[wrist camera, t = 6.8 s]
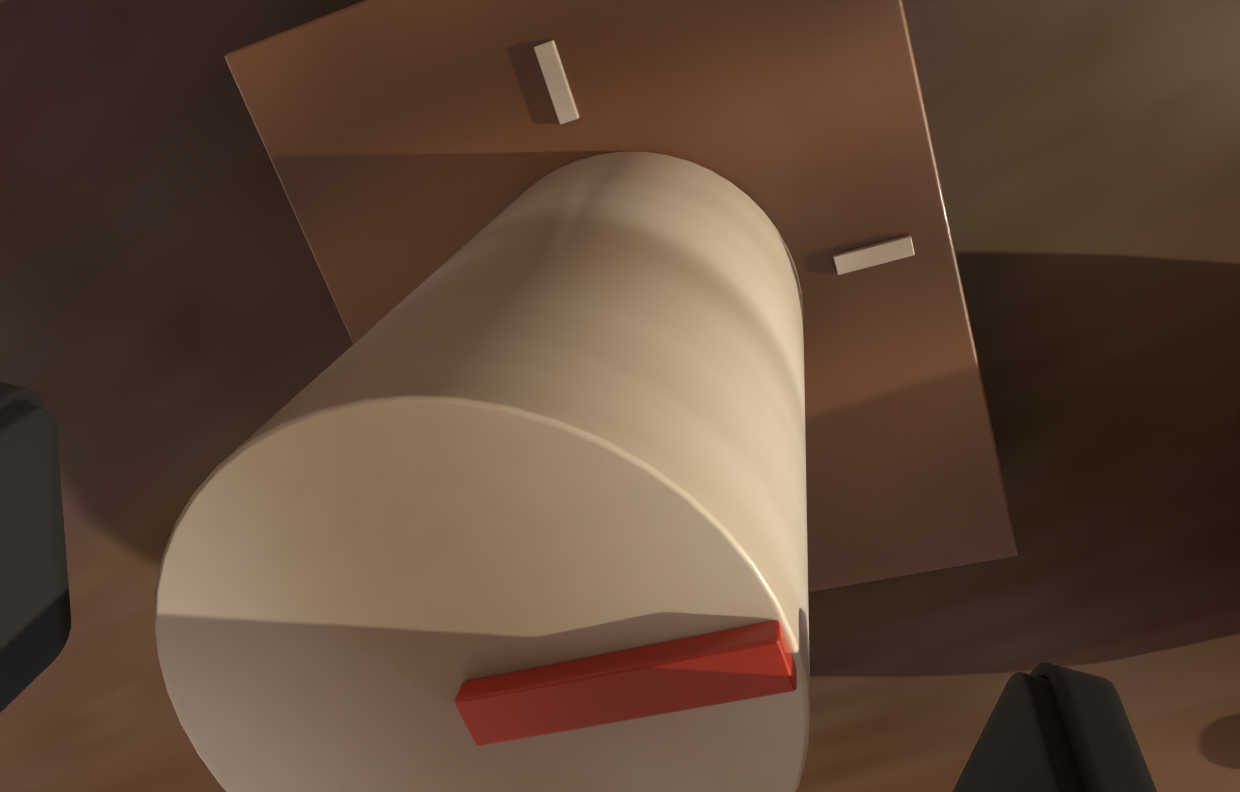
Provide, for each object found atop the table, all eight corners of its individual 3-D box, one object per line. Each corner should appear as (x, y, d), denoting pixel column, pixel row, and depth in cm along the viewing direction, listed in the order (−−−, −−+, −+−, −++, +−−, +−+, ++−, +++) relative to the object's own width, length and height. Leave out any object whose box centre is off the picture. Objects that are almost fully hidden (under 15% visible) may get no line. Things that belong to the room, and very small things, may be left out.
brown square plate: (293, 41, 21) (216, 55, 18) (852, -172, 18) (862, -195, 15) (520, 577, 26) (487, 654, 23) (993, 485, 23) (1021, 561, 20)
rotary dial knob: (548, 493, 21) (320, 990, 11) (426, 213, 19) (7, 511, 9) (842, 419, 19) (892, 932, 9) (744, 101, 17) (671, 317, 7)
